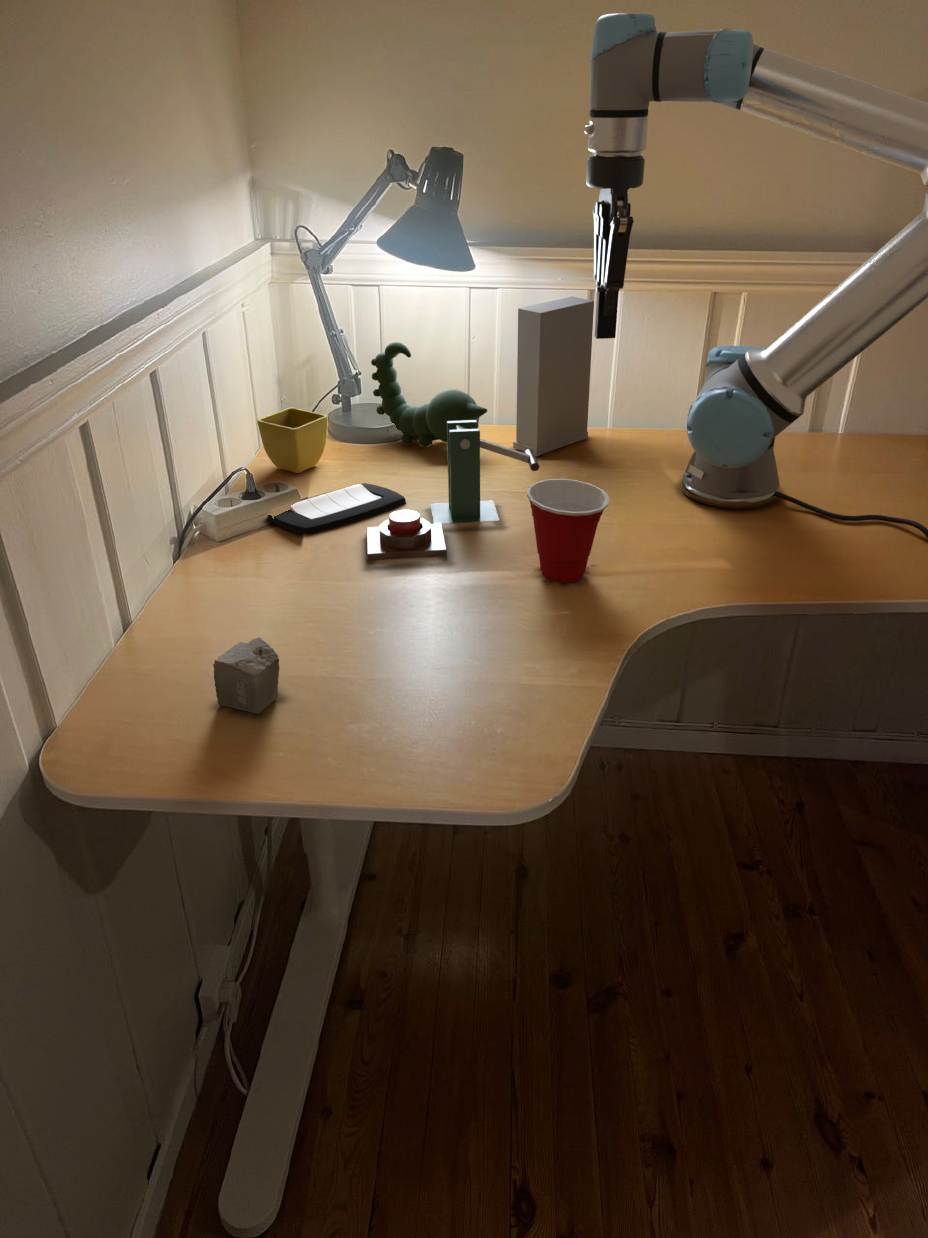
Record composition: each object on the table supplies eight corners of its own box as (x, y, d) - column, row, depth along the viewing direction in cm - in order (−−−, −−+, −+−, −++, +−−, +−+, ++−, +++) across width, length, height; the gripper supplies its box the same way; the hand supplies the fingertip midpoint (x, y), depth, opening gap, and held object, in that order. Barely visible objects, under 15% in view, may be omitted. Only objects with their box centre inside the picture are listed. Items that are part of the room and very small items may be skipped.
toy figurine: (369, 447, 178) (474, 464, 163) (356, 345, 169) (465, 353, 155) (402, 434, 184) (506, 449, 170) (391, 335, 176) (498, 341, 161)
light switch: (363, 474, 156) (413, 490, 146) (365, 490, 158) (414, 508, 148) (257, 505, 146) (303, 525, 136) (260, 522, 147) (306, 544, 137)
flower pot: (333, 464, 166) (328, 414, 161) (300, 480, 160) (294, 428, 155) (295, 455, 170) (290, 406, 166) (261, 470, 164) (255, 420, 159)
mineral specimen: (197, 718, 99) (194, 646, 97) (247, 691, 107) (244, 623, 104) (256, 732, 96) (254, 658, 94) (302, 703, 104) (301, 634, 102)
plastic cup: (594, 598, 122) (599, 513, 116) (514, 585, 125) (516, 502, 119) (612, 563, 131) (618, 482, 125) (537, 552, 134) (540, 472, 128)
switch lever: (529, 461, 144) (535, 447, 143) (536, 475, 139) (542, 461, 138) (449, 435, 141) (455, 420, 140) (453, 449, 136) (459, 433, 135)
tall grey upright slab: (563, 431, 180) (568, 295, 167) (587, 439, 176) (595, 300, 163) (512, 449, 172) (513, 307, 159) (536, 457, 168) (540, 313, 155)
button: (419, 521, 135) (419, 508, 134) (421, 534, 131) (421, 521, 130) (389, 523, 135) (388, 510, 134) (390, 536, 131) (389, 522, 130)
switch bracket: (493, 507, 149) (493, 415, 141) (500, 527, 142) (500, 433, 134) (430, 510, 148) (427, 418, 140) (433, 531, 141) (430, 436, 133)
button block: (441, 536, 139) (441, 511, 137) (447, 563, 131) (446, 537, 129) (367, 540, 138) (365, 515, 136) (368, 568, 131) (366, 542, 129)
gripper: (577, 150, 128) (570, 327, 140) (598, 157, 117) (588, 349, 129) (631, 149, 129) (619, 325, 141) (657, 156, 118) (642, 347, 129)
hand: (604, 336), depth 135 cm, fingers closed
